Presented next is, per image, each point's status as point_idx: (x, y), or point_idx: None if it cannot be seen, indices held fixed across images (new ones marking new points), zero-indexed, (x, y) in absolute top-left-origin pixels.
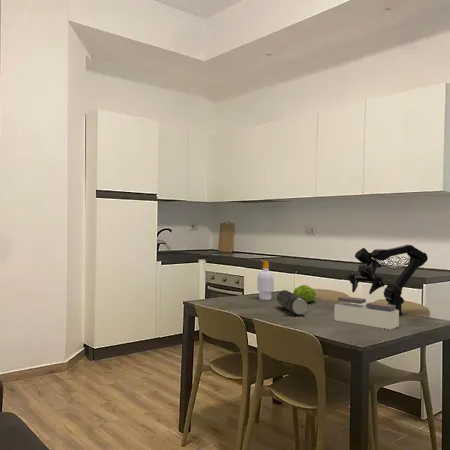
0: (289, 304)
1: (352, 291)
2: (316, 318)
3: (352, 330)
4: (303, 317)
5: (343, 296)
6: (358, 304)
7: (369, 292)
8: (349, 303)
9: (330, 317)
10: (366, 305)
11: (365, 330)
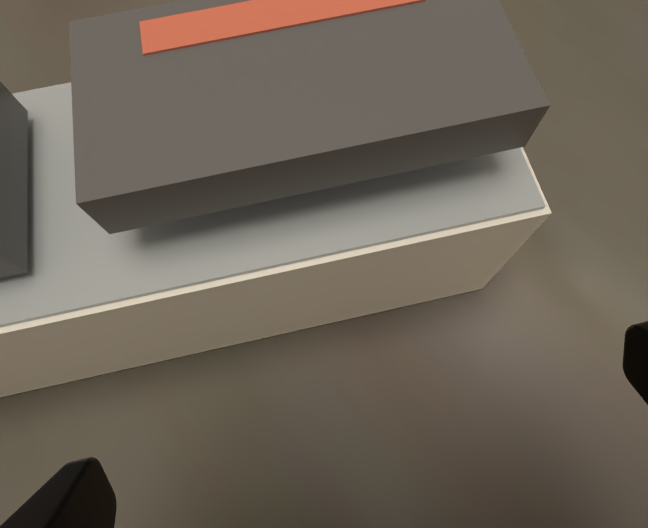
0: None
1: (643, 326)
2: (563, 64)
3: (91, 3)
4: (643, 9)
5: (519, 72)
6: (279, 253)
7: (77, 462)
8: (417, 202)
9: (552, 192)
10: (2, 93)
11: (23, 69)
